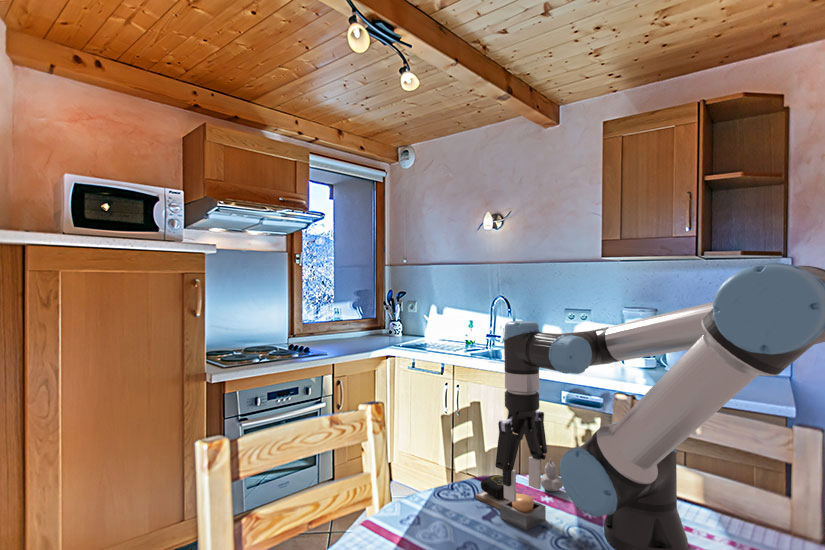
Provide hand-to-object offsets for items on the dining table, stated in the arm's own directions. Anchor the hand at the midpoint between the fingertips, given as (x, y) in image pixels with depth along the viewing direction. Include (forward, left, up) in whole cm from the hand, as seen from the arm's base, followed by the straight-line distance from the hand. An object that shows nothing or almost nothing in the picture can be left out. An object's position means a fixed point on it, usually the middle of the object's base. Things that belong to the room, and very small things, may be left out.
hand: (522, 493), depth 102 cm
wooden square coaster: (+9, -4, -6) cm, 11 cm away
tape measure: (+9, -3, -5) cm, 11 cm away
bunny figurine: (+4, -17, -6) cm, 18 cm away
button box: (0, 0, -6) cm, 6 cm away
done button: (0, 0, -4) cm, 4 cm away
